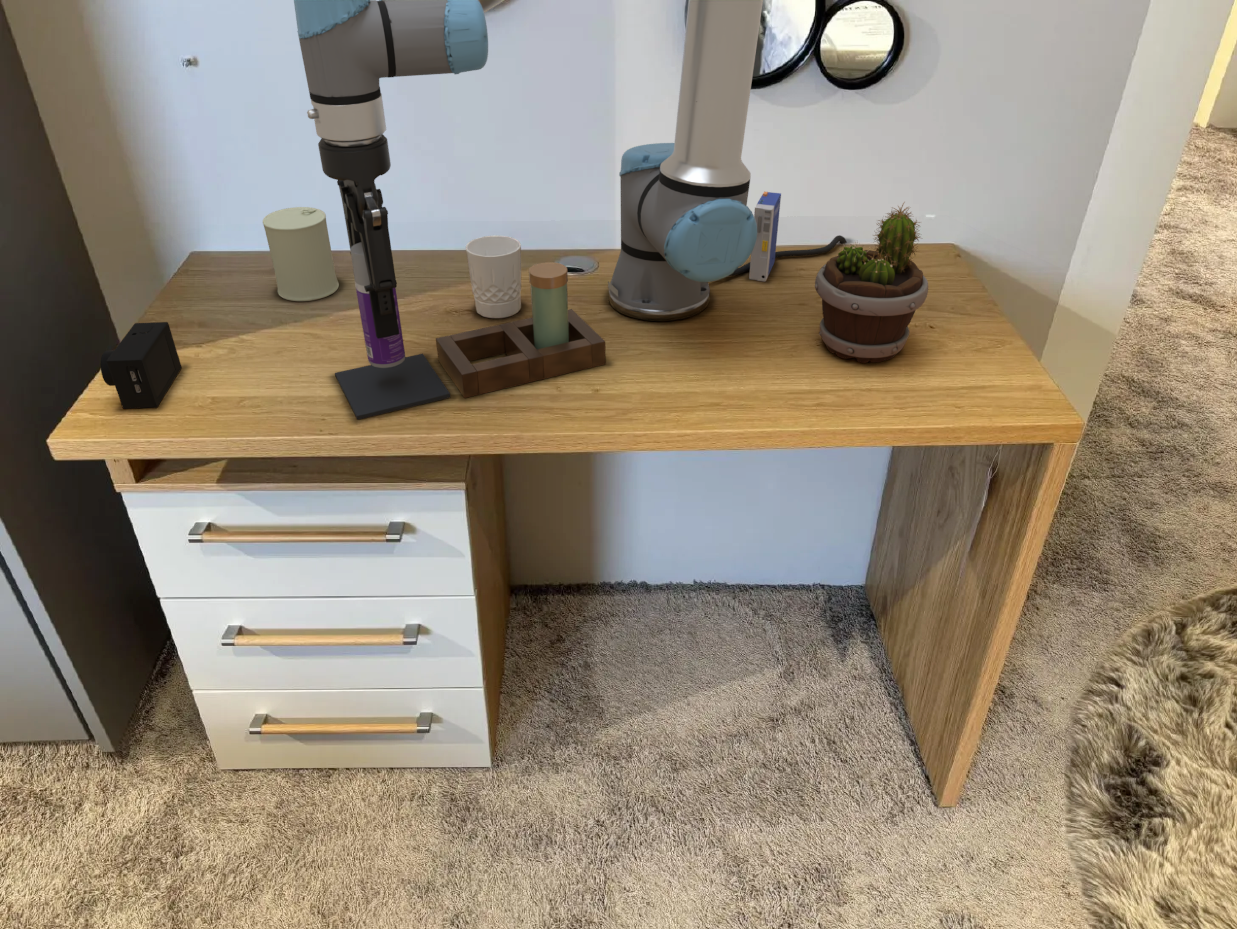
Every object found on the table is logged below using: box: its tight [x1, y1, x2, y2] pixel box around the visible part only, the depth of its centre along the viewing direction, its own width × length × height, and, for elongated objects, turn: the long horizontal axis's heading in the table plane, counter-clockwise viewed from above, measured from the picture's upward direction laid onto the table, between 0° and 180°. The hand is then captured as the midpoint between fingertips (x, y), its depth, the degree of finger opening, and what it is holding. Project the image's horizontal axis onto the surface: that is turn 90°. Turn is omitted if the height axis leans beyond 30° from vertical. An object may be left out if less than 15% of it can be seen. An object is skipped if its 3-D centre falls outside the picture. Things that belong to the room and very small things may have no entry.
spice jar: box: [528, 261, 569, 349], centre depth 128 cm, size 5×5×13 cm
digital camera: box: [100, 321, 183, 410], centre depth 122 cm, size 10×5×7 cm, turn 4°
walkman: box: [748, 191, 782, 282], centre depth 151 cm, size 8×3×12 cm, turn 162°
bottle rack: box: [435, 308, 606, 399], centre depth 129 cm, size 20×11×4 cm, turn 116°
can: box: [262, 206, 340, 302], centre depth 146 cm, size 9×9×12 cm
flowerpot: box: [814, 202, 929, 364], centre depth 127 cm, size 14×15×20 cm
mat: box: [334, 353, 451, 420], centre depth 124 cm, size 12×12×1 cm
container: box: [349, 242, 406, 368], centre depth 118 cm, size 5×5×15 cm
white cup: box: [465, 234, 522, 319], centre depth 140 cm, size 8×8×10 cm
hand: (381, 325), depth 119 cm, fingers closed on container, 5 cm apart
